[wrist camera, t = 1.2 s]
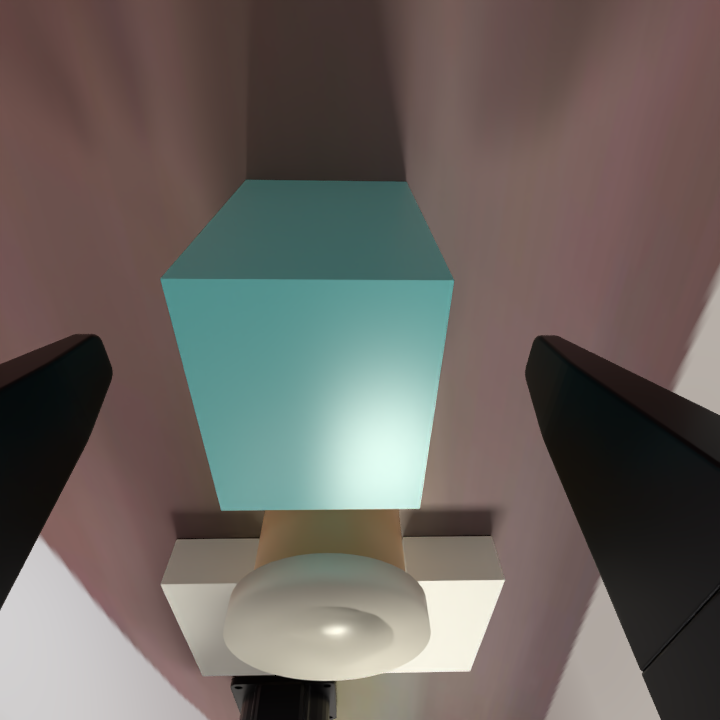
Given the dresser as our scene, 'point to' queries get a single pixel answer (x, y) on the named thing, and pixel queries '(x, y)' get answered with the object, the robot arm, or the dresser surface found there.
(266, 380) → the teal rectangular block
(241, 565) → the notched board
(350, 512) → the bobbin
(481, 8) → the dresser surface
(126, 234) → the dresser surface
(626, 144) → the dresser surface
